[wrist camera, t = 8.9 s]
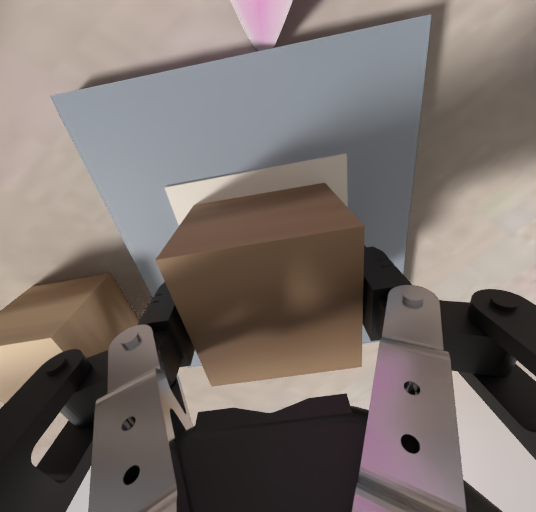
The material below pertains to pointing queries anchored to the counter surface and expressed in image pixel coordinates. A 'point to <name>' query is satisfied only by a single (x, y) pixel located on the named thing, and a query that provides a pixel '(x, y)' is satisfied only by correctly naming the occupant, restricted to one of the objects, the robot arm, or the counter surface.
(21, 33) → the counter surface
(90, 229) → the counter surface
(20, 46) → the counter surface
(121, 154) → the board
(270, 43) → the lily
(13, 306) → the oak cube
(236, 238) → the walnut block
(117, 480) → the robot arm
